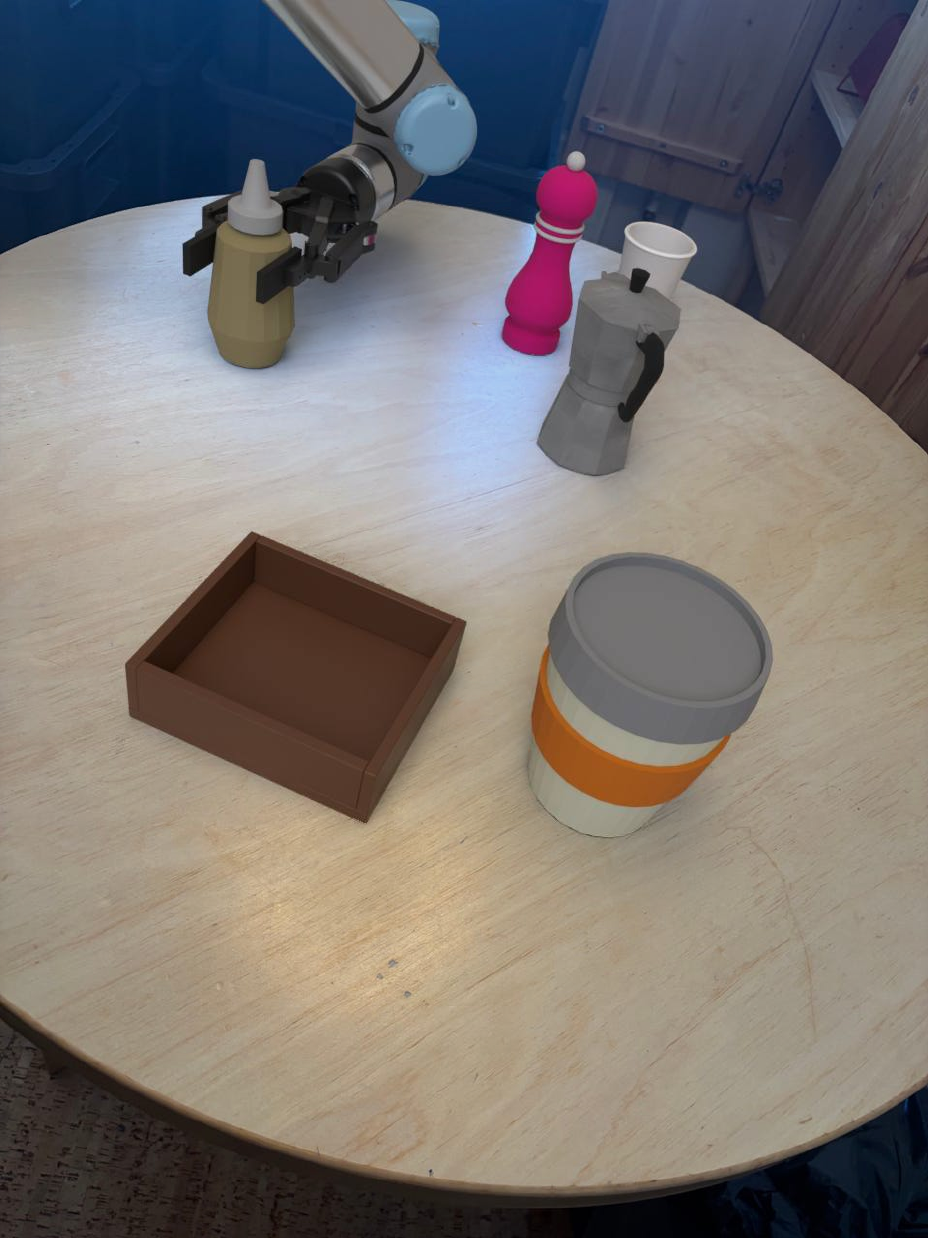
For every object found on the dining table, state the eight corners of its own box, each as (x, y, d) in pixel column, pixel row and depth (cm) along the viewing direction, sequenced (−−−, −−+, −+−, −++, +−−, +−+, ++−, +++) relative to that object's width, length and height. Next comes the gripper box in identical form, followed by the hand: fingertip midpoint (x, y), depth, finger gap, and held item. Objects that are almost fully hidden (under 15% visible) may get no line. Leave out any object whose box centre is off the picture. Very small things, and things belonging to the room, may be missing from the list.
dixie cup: (585, 309, 112) (610, 226, 105) (629, 296, 117) (656, 216, 110) (638, 344, 109) (667, 260, 102) (681, 329, 113) (712, 248, 107)
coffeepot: (521, 405, 95) (569, 228, 82) (609, 411, 97) (669, 240, 84) (556, 503, 84) (618, 318, 72) (654, 508, 87) (730, 329, 74)
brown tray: (128, 716, 60) (124, 663, 56) (249, 581, 70) (251, 530, 67) (365, 824, 58) (375, 777, 54) (453, 669, 68) (467, 620, 64)
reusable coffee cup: (715, 847, 61) (819, 699, 51) (537, 878, 57) (611, 725, 47) (638, 697, 69) (715, 544, 59) (477, 716, 65) (529, 554, 55)
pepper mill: (500, 317, 107) (544, 130, 93) (562, 333, 107) (616, 148, 93) (493, 348, 101) (538, 155, 88) (558, 364, 102) (614, 174, 88)
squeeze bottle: (190, 356, 89) (188, 159, 77) (234, 323, 95) (238, 134, 83) (267, 386, 88) (277, 191, 76) (306, 350, 94) (322, 163, 82)
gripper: (424, 261, 99) (320, 352, 83) (258, 200, 101) (127, 277, 85) (436, 188, 94) (328, 270, 77) (261, 126, 96) (122, 193, 80)
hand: (223, 273), depth 81 cm, fingers closed on squeeze bottle, 6 cm apart
